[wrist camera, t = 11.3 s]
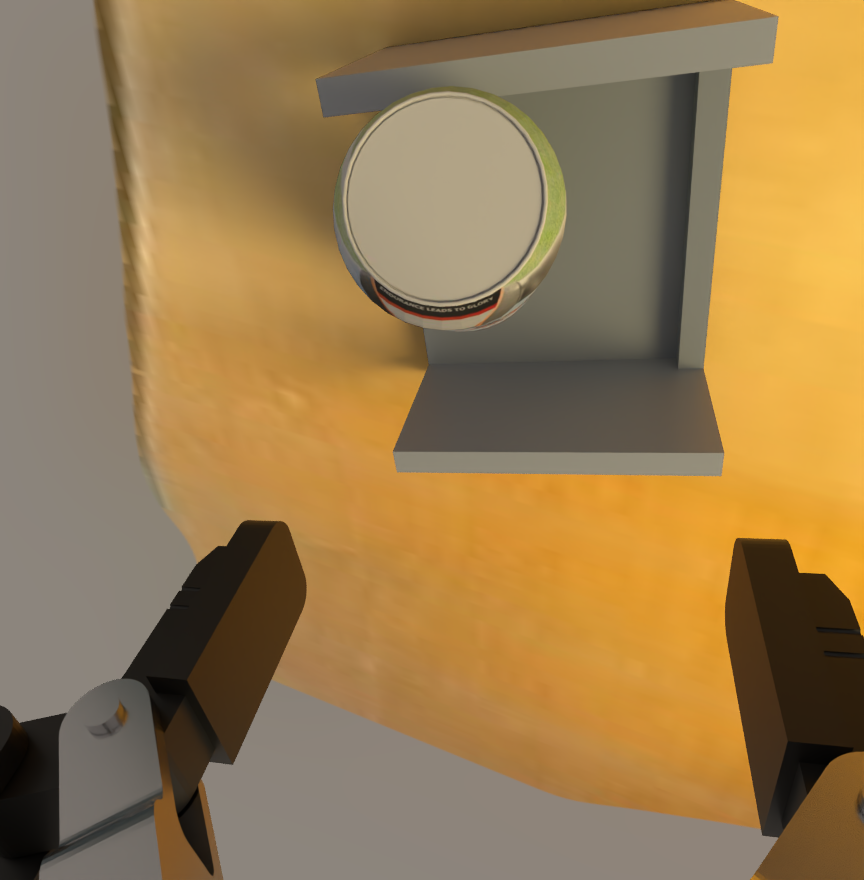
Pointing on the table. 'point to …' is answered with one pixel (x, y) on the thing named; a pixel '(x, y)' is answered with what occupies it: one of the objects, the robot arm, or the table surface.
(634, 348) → the holder
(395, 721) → the table surface
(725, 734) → the table surface
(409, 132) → the beverage can
